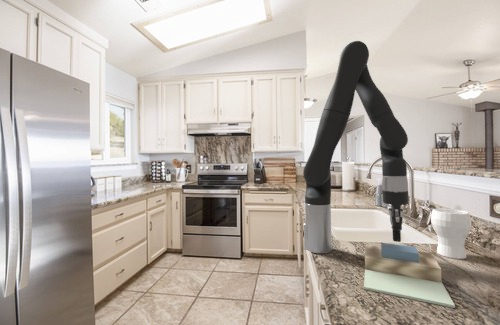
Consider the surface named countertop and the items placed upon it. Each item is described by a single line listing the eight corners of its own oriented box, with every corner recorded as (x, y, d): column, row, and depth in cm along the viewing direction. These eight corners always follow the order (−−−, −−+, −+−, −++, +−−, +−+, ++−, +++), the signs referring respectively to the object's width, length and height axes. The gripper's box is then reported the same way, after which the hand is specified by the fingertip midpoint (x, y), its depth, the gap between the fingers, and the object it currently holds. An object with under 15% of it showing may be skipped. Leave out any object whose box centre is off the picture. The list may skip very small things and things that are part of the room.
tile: (381, 257, 70) (381, 248, 70) (381, 250, 75) (381, 242, 75) (418, 262, 66) (418, 253, 66) (415, 255, 71) (415, 246, 71)
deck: (365, 270, 70) (364, 257, 70) (366, 256, 81) (365, 244, 81) (441, 284, 62) (441, 268, 62) (431, 266, 72) (431, 253, 72)
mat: (363, 289, 60) (363, 286, 60) (365, 271, 70) (365, 269, 70) (455, 308, 51) (455, 305, 51) (442, 284, 61) (441, 282, 61)
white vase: (432, 247, 88) (431, 207, 89) (470, 253, 82) (469, 210, 82) (431, 255, 80) (430, 211, 80) (474, 263, 74) (472, 215, 74)
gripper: (381, 187, 87) (383, 234, 87) (382, 191, 75) (384, 245, 75) (405, 187, 83) (407, 236, 83) (411, 191, 72) (413, 249, 71)
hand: (396, 240), depth 79 cm, fingers closed
